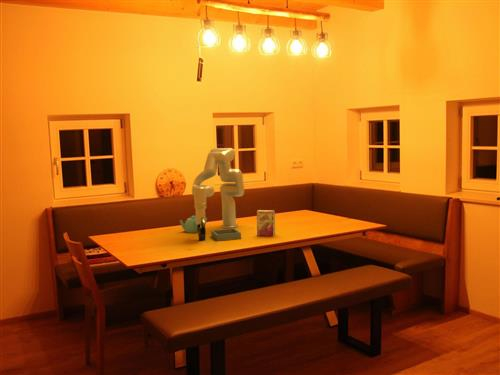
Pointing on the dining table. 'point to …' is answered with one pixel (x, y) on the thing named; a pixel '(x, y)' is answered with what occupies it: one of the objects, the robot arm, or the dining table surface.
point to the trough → (225, 234)
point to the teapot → (190, 225)
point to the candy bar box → (265, 223)
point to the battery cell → (201, 235)
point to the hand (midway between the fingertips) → (201, 232)
